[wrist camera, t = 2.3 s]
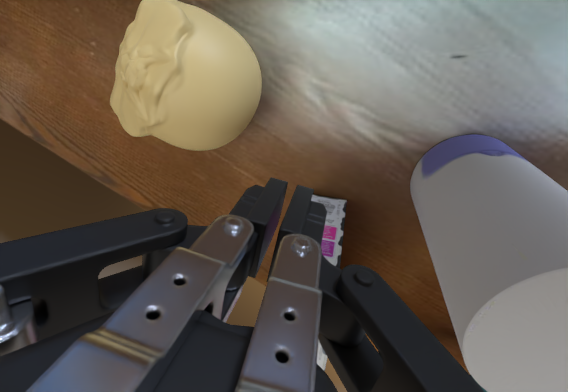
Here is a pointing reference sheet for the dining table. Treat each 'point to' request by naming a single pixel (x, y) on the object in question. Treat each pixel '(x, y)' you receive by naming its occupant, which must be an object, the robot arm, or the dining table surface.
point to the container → (498, 260)
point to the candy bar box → (331, 243)
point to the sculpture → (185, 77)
